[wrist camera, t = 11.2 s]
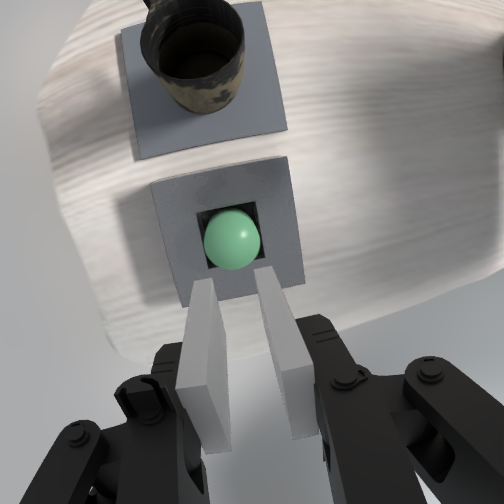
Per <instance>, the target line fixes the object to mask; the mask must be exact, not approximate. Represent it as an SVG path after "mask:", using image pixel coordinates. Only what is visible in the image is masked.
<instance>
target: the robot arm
mask: <svg viewBox="0 0 504 504" xmlns="http://www.w3.org/2000/svg"><path fill="white" fill-rule="evenodd" d="M254 274H255V280H256V285H257V290H258V296H259V301H260V306H261V311H262V317H263V322H264V327H265V331H266V335H267V339H268V343H269V347H270V351H271V355H272V359H273V363H274V367H275V371H276V375H277V380H278V384H279V388H280V392H281V396H282V399H283V404H284V408H285V411H286V416H287V420H288V424H289V428H290V432H291V436H292V440H297V439H301V438H305V437H310V436H314V435H318V434H319V429H320V432H321V435H322V441H323V461H326V466H327V471H328V476H329V481H330V486H331V491H332V496H333V501H334V504H427V502H426V499H425V496H424V494H423V491H422V488H421V486H420V483H419V481H418V478H417V476H416V473H417V474H418V475H419V476H420V478H421V479H422V480H423V481H424V483H425V484H426V485H427V486H428V488H429V489H430V490H431V491H432V493H433V494H434V495H435V496H436V498H437V499H438V500H439V501H440V503H441V504H504V406H503V405H502V404H501V403H500V402H499V401H497V400H496V399H495V398H493V397H492V396H491V395H490V394H489V393H487V392H486V391H485V390H484V389H483V388H481V387H480V386H479V385H478V384H476V383H475V382H474V381H473V380H471V379H470V378H469V377H468V376H466V375H465V374H464V373H463V372H461V371H460V370H459V369H458V368H456V367H455V366H454V365H452V364H451V363H450V362H448V361H447V360H445V359H443V358H439V357H435V356H426V357H421V358H418V359H415V360H414V361H412V362H411V363H410V364H409V365H408V366H407V368H406V370H405V374H401V375H390V376H378V375H372V374H371V372H370V371H369V370H368V369H367V368H365V367H363V366H361V365H358V364H356V363H355V361H354V359H353V358H352V356H351V355H350V353H349V351H348V350H347V348H346V346H345V344H344V343H343V341H342V339H341V338H340V337H339V335H338V333H337V331H335V328H334V326H333V325H332V323H331V321H330V320H329V319H327V318H325V317H324V316H322V315H320V314H316V315H312V316H308V317H303V318H299V319H294V317H293V314H292V312H291V310H290V307H289V305H288V302H287V300H286V298H285V295H284V293H283V291H282V288H281V286H280V284H279V281H278V279H277V277H276V274H275V272H274V270H273V267H272V266H268V267H263V268H258V269H254ZM114 396H115V398H116V400H117V402H118V404H119V405H120V407H121V409H122V411H123V412H124V414H125V415H126V417H127V422H126V423H123V424H121V425H118V426H114V427H111V428H107V429H103V430H101V429H100V428H99V426H98V425H97V424H96V423H95V422H93V421H90V420H79V421H76V422H73V423H71V424H70V425H68V426H66V427H65V428H64V429H63V430H62V431H61V433H60V434H59V436H58V437H57V439H56V441H55V442H54V444H53V446H52V447H51V449H50V450H49V452H48V454H47V456H46V457H45V459H44V461H43V462H42V464H41V466H40V468H39V469H38V471H37V473H36V474H35V476H34V478H33V480H32V482H31V483H30V485H29V487H28V489H27V490H26V492H25V494H24V496H23V498H22V500H21V502H20V503H19V504H210V500H209V492H208V485H207V475H206V468H205V465H204V463H203V461H202V459H201V446H202V448H203V450H204V452H205V454H213V453H222V452H230V451H232V446H231V432H230V431H231V430H230V413H229V395H228V374H227V351H226V332H225V328H224V324H223V321H222V317H221V313H220V309H219V305H218V301H217V297H216V293H215V289H214V284H213V280H212V278H207V279H202V280H197V281H194V283H193V288H192V294H191V299H190V304H189V310H188V315H187V321H186V326H185V332H184V338H183V342H178V343H171V344H164V345H163V346H162V347H161V348H160V350H159V351H158V352H157V353H156V355H155V358H154V362H153V366H152V369H151V374H148V375H139V376H135V377H132V378H130V379H128V380H127V381H125V382H123V383H122V384H121V385H120V386H119V387H118V388H117V390H116V392H115V394H114ZM318 426H319V427H318ZM414 470H415V471H414ZM415 472H416V473H415ZM91 487H93V488H92V490H91V491H90V489H91Z"/></svg>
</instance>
